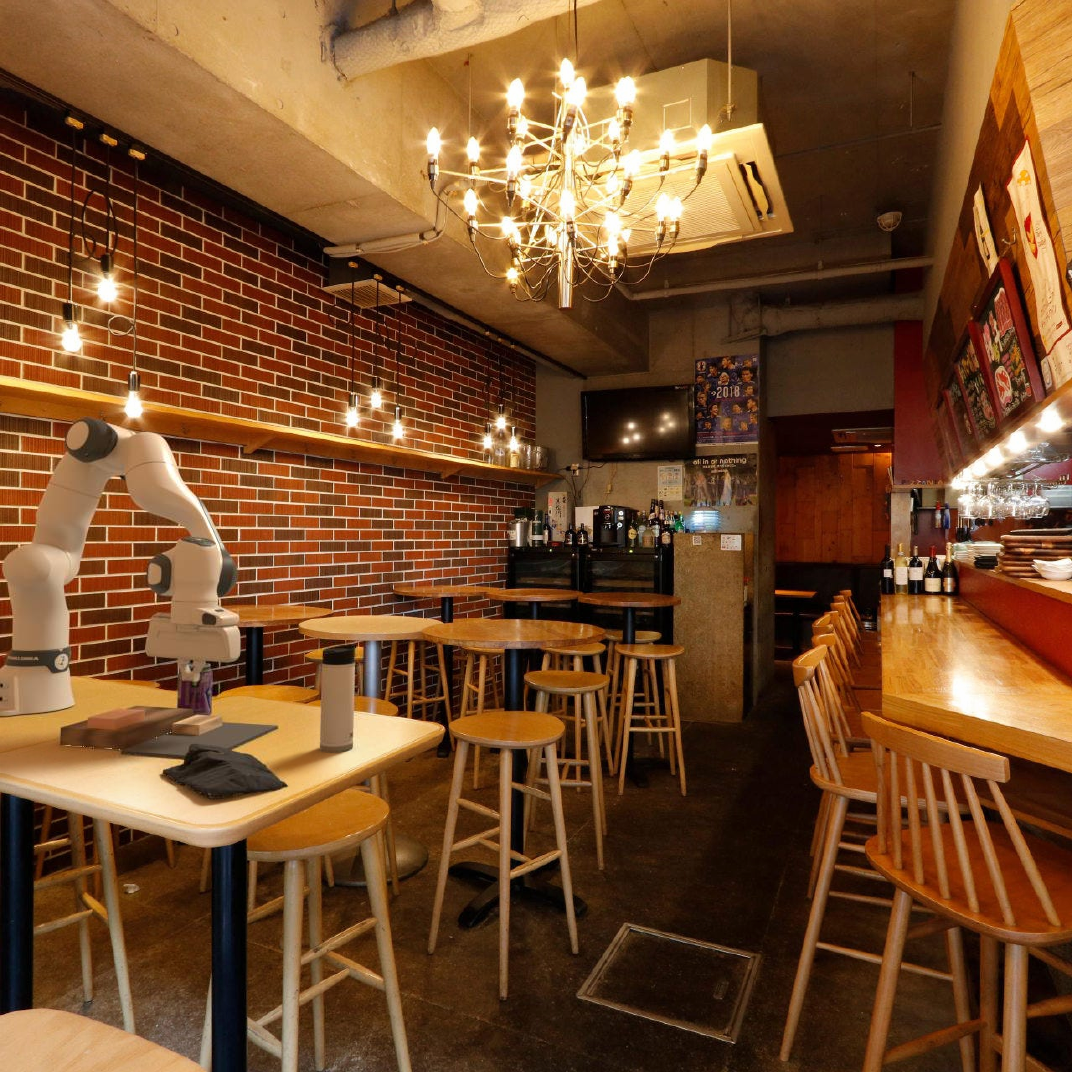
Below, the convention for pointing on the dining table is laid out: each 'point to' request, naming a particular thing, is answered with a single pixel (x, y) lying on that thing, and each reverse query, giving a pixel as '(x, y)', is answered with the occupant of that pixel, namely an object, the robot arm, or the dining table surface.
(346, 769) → the dining table surface
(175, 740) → the mat
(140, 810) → the dining table surface
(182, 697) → the beverage can
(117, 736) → the walnut board
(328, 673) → the travel mug
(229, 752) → the crumpled black cloth
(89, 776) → the dining table surface
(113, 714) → the tilted orange prism
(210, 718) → the tan rectangular block
